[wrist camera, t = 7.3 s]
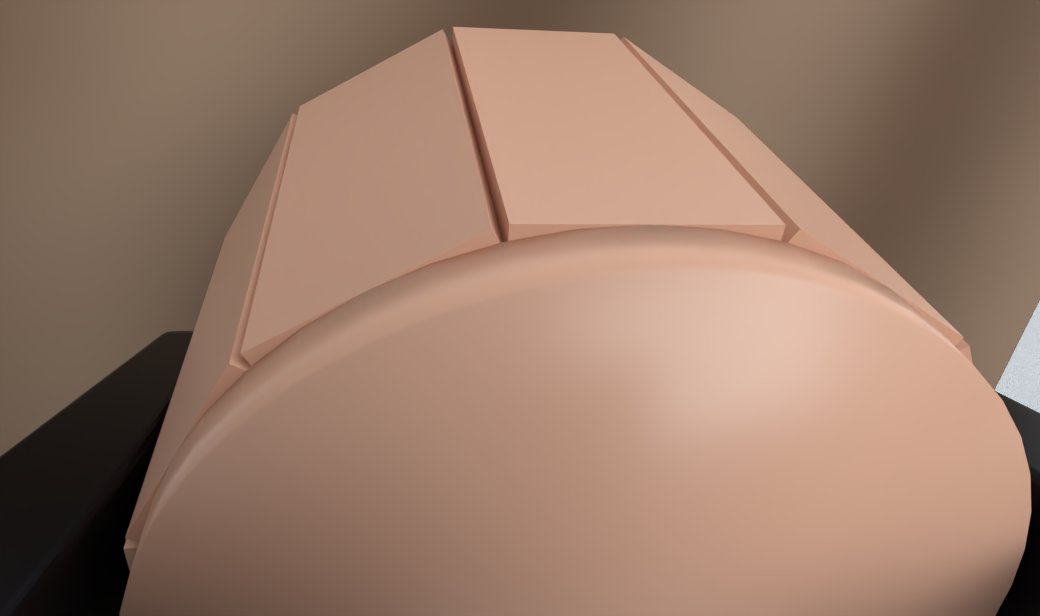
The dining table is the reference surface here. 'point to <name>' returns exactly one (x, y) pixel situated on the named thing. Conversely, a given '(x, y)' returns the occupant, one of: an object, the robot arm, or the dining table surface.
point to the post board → (443, 5)
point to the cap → (564, 371)
